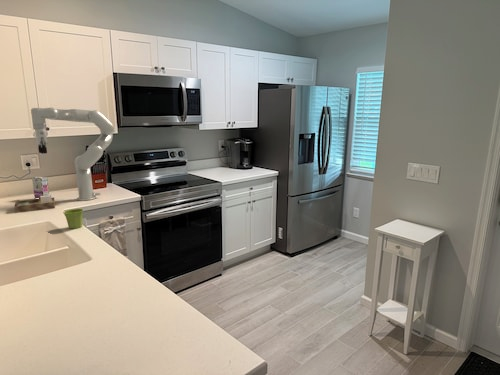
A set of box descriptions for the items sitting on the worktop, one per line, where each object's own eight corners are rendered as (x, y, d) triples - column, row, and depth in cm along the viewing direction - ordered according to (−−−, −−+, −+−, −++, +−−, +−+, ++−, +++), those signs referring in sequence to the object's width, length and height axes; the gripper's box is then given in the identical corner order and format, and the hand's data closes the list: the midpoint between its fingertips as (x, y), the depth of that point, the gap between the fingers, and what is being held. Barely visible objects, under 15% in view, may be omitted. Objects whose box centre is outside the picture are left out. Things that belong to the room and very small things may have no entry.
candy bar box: (50, 199, 251) (47, 176, 248) (43, 200, 247) (40, 177, 244) (41, 197, 256) (38, 176, 253) (34, 199, 252) (31, 177, 249)
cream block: (51, 200, 230) (51, 194, 229) (51, 202, 225) (50, 196, 225) (41, 201, 227) (40, 196, 226) (41, 203, 222) (40, 197, 222)
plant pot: (61, 228, 175) (59, 211, 174) (80, 223, 183) (78, 207, 181) (70, 231, 170) (68, 214, 168) (89, 226, 177) (87, 210, 176)
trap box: (54, 203, 237) (54, 195, 236) (54, 208, 221) (53, 200, 220) (18, 207, 226) (17, 199, 226) (15, 212, 211) (14, 204, 210)
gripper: (48, 126, 222) (51, 153, 225) (43, 127, 235) (47, 152, 238) (35, 127, 217) (38, 154, 220) (31, 127, 231) (34, 152, 234)
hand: (42, 153), depth 229 cm, fingers open, 9 cm apart
